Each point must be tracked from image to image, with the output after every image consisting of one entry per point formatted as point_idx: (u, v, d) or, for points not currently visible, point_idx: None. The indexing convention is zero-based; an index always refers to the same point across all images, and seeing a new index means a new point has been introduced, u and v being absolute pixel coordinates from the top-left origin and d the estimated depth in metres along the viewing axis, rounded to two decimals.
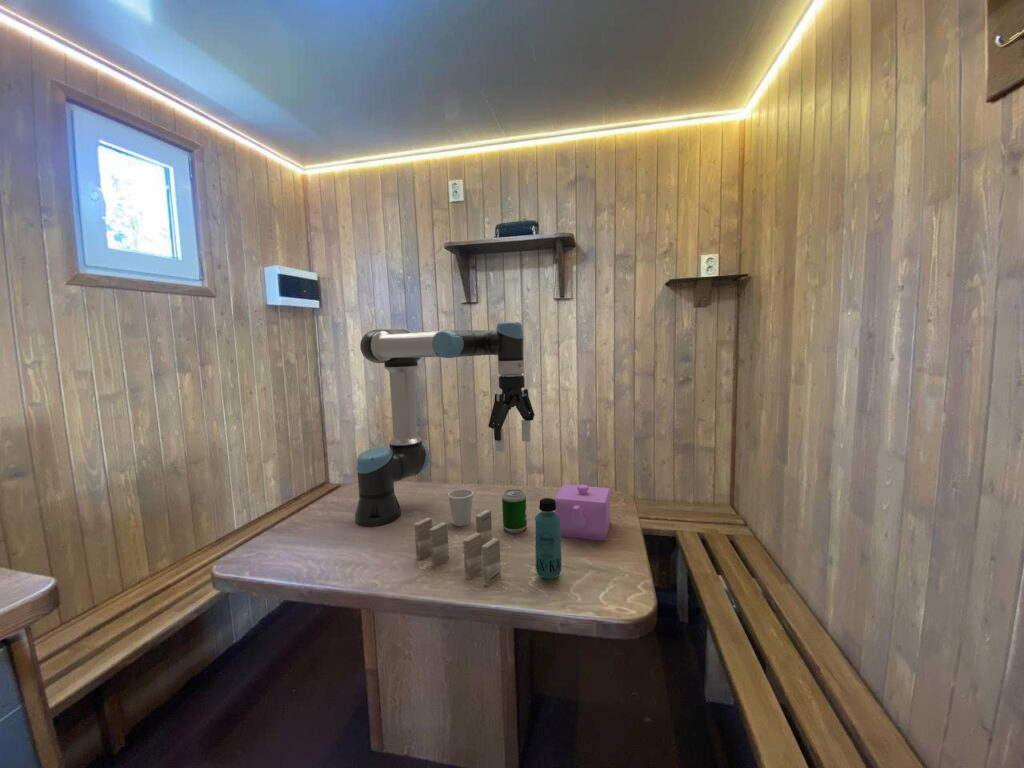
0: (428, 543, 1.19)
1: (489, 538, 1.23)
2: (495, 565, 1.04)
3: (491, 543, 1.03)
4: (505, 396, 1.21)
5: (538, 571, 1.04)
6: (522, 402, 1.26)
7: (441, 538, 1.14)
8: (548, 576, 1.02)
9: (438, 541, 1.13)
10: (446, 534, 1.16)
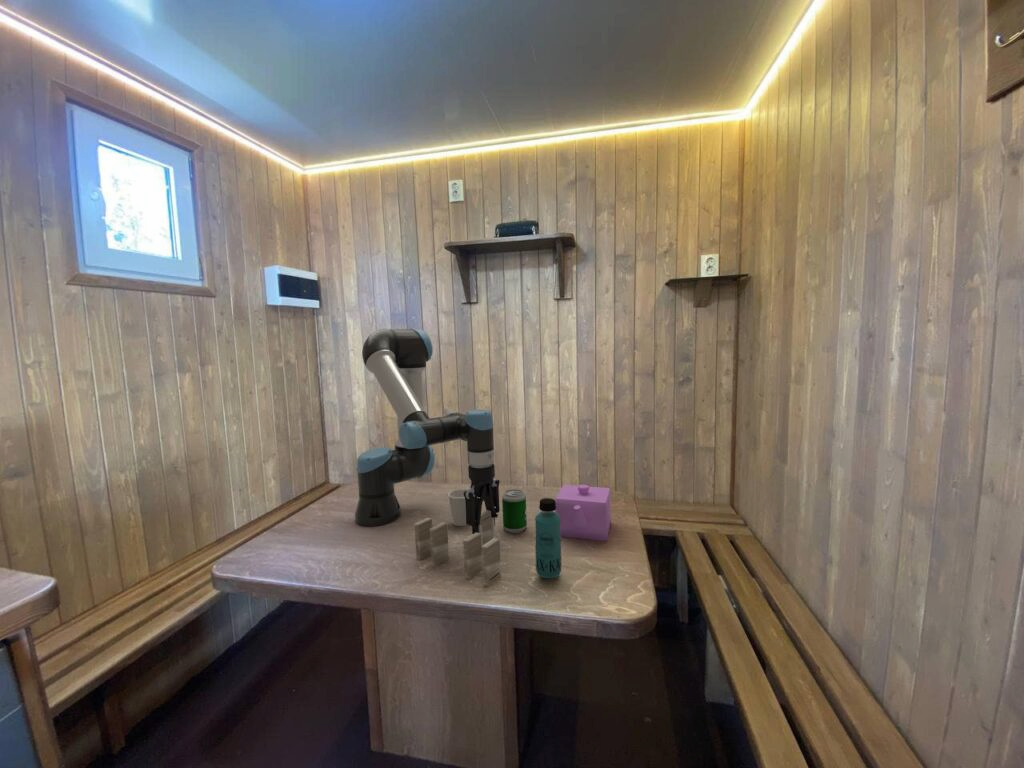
0: (428, 543, 1.19)
1: (489, 538, 1.23)
2: (495, 565, 1.04)
3: (491, 543, 1.03)
4: (474, 490, 1.17)
5: (538, 571, 1.04)
6: (491, 493, 1.22)
7: (441, 538, 1.14)
8: (548, 576, 1.02)
9: (438, 541, 1.13)
10: (446, 534, 1.16)
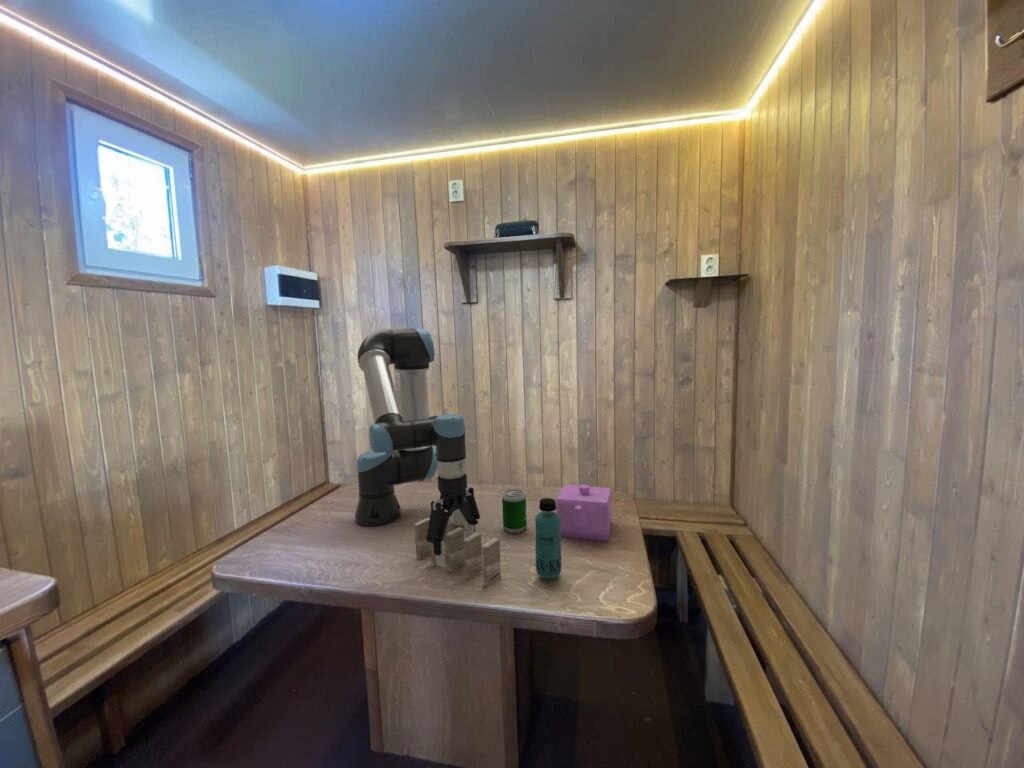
0: (428, 543, 1.19)
1: (462, 558, 1.12)
2: (495, 565, 1.04)
3: (491, 543, 1.03)
4: (443, 502, 1.06)
5: (538, 571, 1.04)
6: (465, 504, 1.11)
7: None
8: (548, 576, 1.02)
9: None
10: None
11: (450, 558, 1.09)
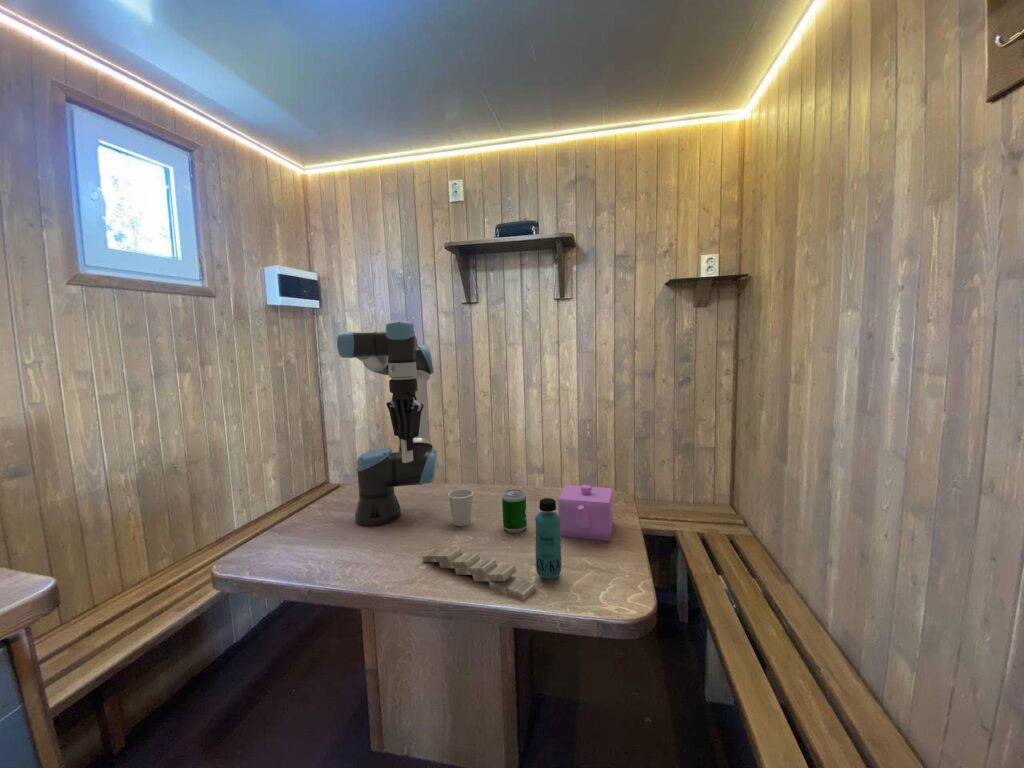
0: None
1: None
2: None
3: (528, 594, 0.98)
4: None
5: (538, 571, 1.04)
6: (402, 411, 1.16)
7: None
8: (548, 576, 1.02)
9: None
10: None
11: (466, 572, 1.06)
